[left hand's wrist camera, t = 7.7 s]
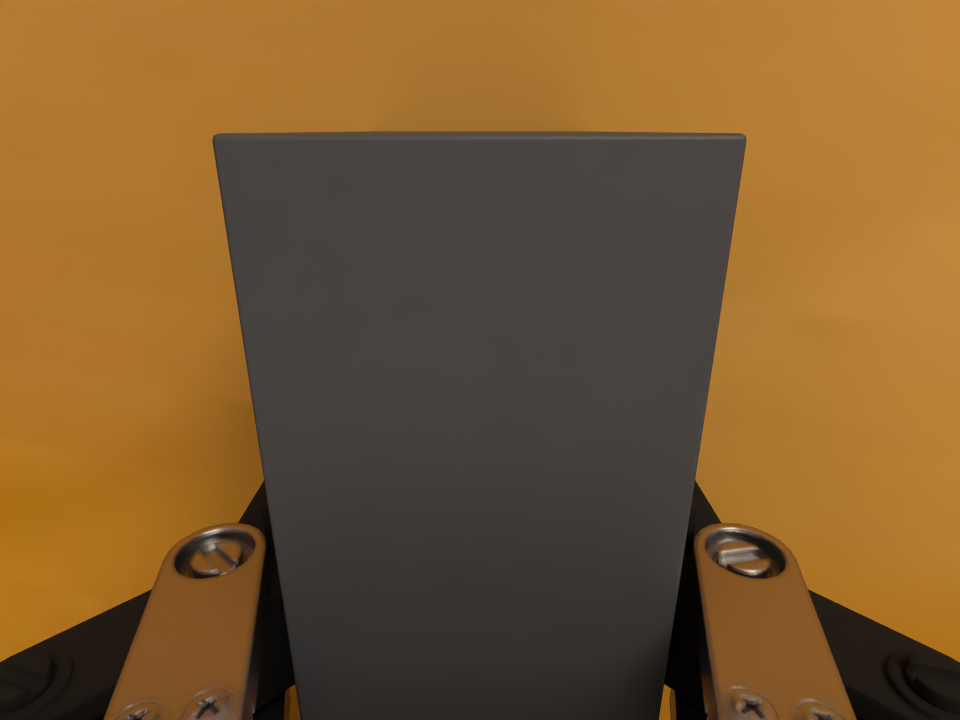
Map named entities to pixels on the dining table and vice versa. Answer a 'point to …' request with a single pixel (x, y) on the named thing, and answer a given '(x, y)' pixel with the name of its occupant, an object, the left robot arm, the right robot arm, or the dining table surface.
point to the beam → (479, 406)
